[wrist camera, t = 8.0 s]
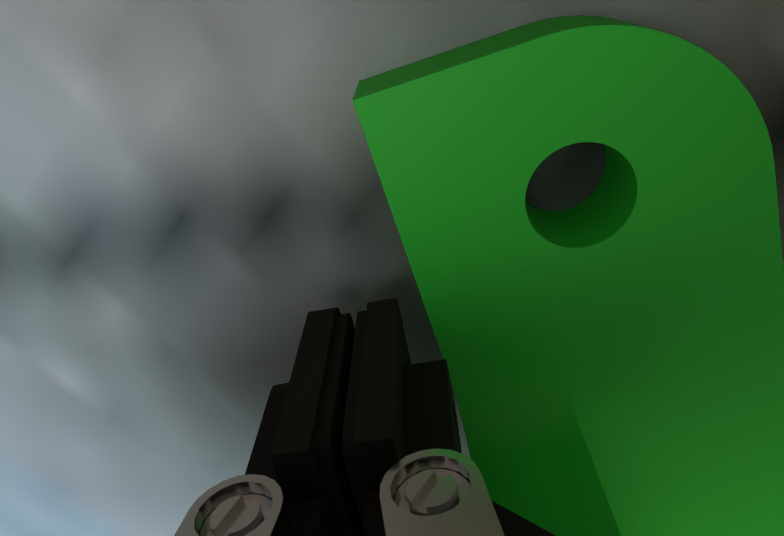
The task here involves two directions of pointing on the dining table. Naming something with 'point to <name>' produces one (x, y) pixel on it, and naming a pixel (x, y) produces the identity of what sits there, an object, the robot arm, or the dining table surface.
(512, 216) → the mechanical part
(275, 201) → the dining table surface
